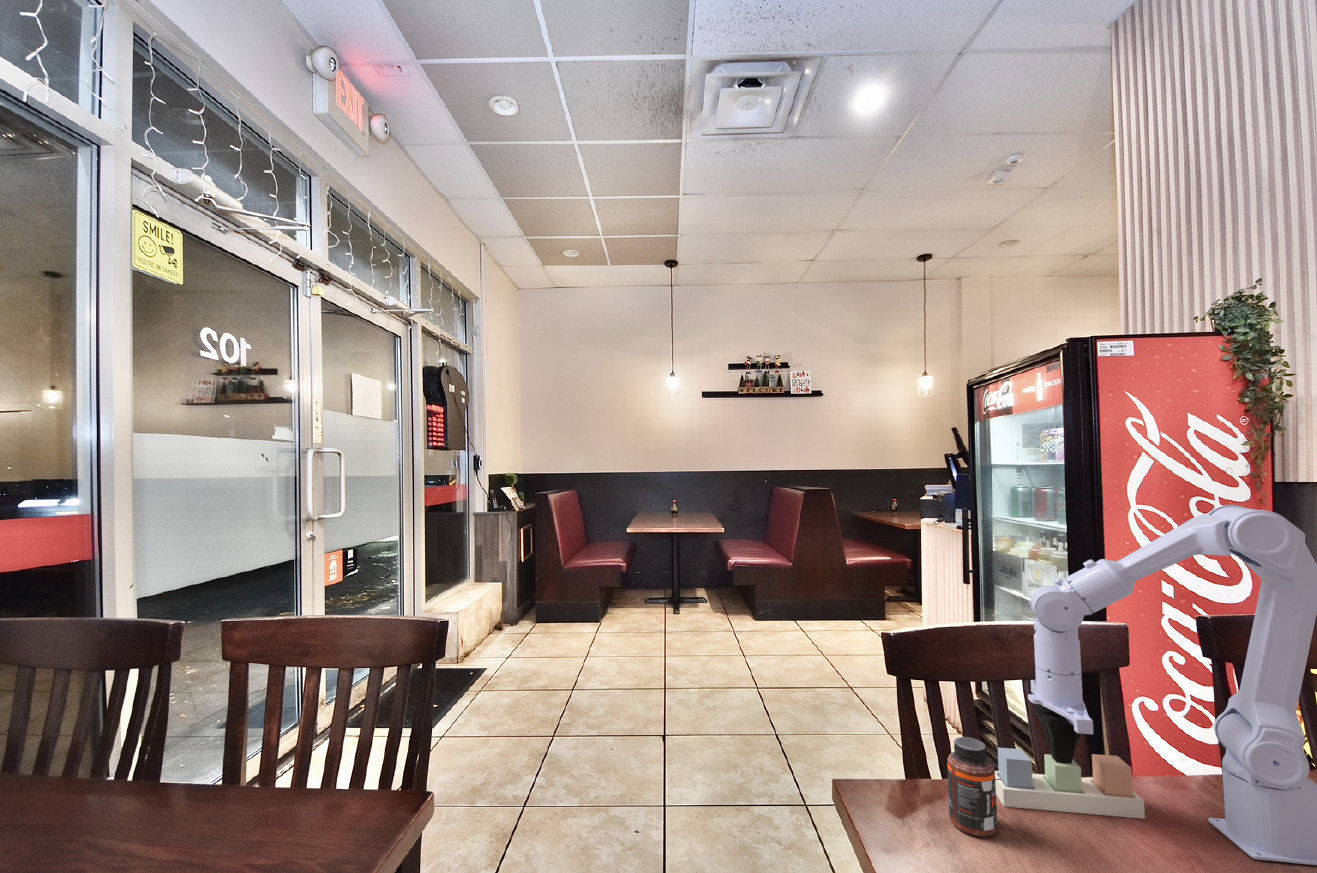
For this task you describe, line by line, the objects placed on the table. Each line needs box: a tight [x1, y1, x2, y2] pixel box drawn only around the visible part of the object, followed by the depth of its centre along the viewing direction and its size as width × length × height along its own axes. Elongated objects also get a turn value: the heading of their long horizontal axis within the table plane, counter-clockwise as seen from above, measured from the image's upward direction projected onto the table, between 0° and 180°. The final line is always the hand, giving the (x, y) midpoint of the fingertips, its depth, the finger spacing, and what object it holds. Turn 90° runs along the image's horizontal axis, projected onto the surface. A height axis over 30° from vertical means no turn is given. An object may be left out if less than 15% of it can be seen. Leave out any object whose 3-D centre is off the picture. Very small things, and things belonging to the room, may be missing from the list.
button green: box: [1043, 753, 1082, 793], centre depth 86 cm, size 3×3×4 cm
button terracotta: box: [1091, 753, 1134, 798], centre depth 85 cm, size 3×3×4 cm
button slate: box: [997, 747, 1033, 789], centre depth 87 cm, size 3×3×4 cm
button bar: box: [995, 770, 1146, 820], centre depth 86 cm, size 18×5×2 cm, turn 79°
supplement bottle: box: [946, 736, 998, 837], centre depth 81 cm, size 6×6×11 cm
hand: (1061, 761), depth 86 cm, fingers closed, pressing on button green
